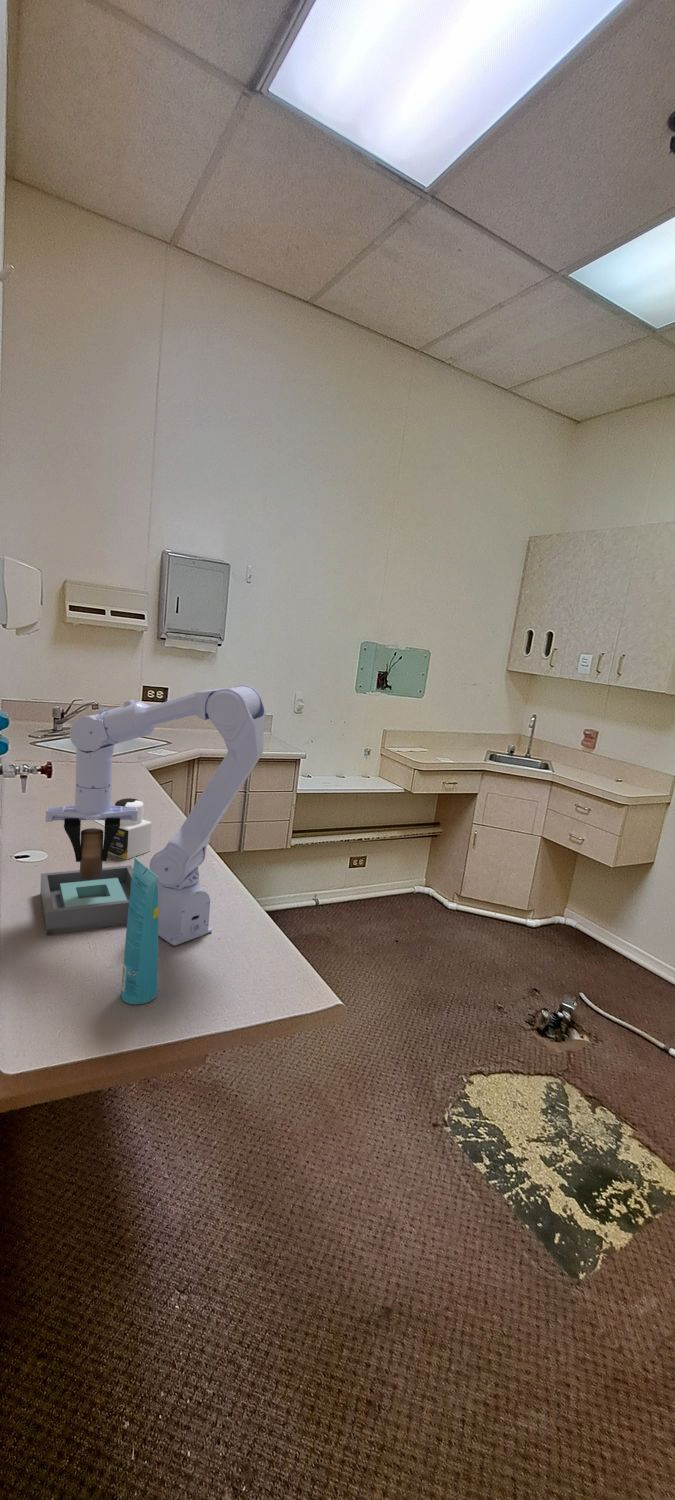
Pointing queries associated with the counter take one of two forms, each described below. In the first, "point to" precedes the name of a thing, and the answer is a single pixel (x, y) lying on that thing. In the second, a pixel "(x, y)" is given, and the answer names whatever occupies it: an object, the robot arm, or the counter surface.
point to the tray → (83, 911)
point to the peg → (91, 853)
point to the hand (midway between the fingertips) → (91, 859)
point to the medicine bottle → (131, 833)
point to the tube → (141, 938)
